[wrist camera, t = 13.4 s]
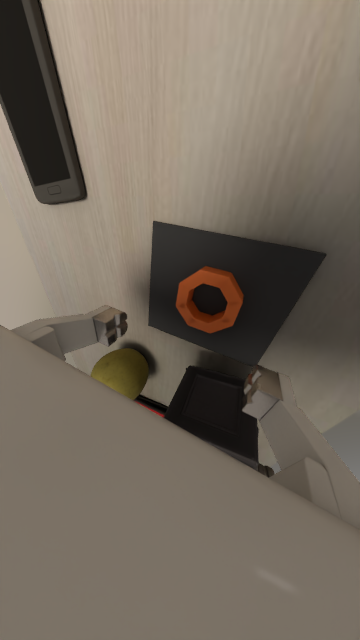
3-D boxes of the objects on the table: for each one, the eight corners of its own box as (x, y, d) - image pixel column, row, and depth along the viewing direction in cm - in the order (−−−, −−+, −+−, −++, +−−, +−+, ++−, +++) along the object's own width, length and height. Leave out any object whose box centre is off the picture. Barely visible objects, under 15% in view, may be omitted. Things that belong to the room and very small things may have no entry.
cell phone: (45, 205, 18) (38, 204, 18) (-37, -19, 12) (-52, -33, 11) (87, 199, 16) (81, 197, 15) (15, -93, 9) (-2, -116, 8)
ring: (251, 277, 13) (251, 282, 12) (229, 330, 16) (226, 340, 15) (189, 261, 14) (181, 264, 13) (179, 313, 18) (173, 320, 16)
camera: (253, 425, 24) (275, 358, 15) (252, 547, 15) (302, 542, 7) (188, 403, 27) (179, 340, 19) (159, 490, 19) (120, 443, 11)
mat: (325, 253, 11) (327, 253, 10) (254, 365, 17) (254, 367, 17) (155, 221, 14) (152, 221, 14) (149, 324, 21) (148, 325, 20)
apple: (161, 354, 23) (130, 394, 17) (152, 382, 27) (125, 422, 22) (120, 330, 24) (79, 361, 18) (118, 361, 29) (84, 393, 23)
